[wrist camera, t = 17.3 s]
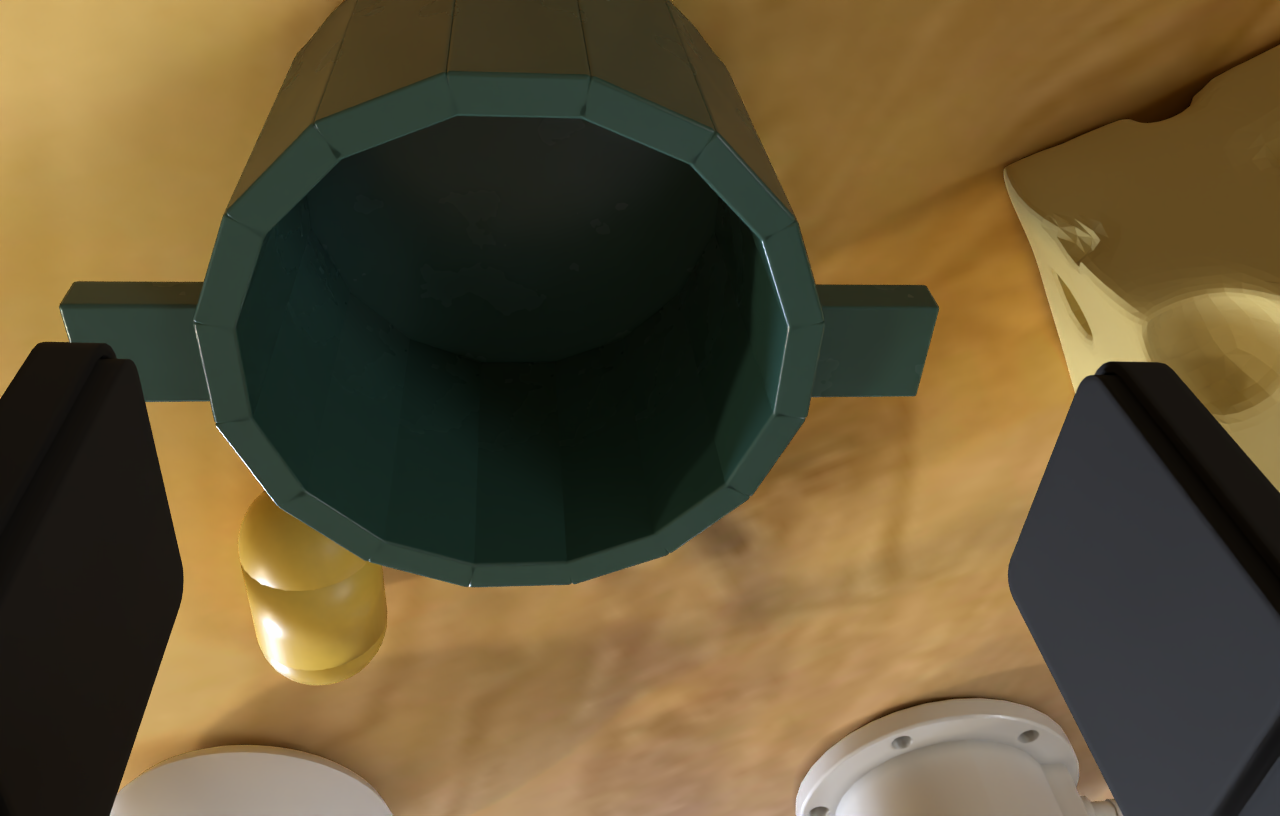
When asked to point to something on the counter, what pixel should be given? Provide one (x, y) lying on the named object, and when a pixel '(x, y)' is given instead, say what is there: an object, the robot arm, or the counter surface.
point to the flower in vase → (248, 786)
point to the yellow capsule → (309, 597)
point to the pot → (509, 294)
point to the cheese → (1172, 248)
